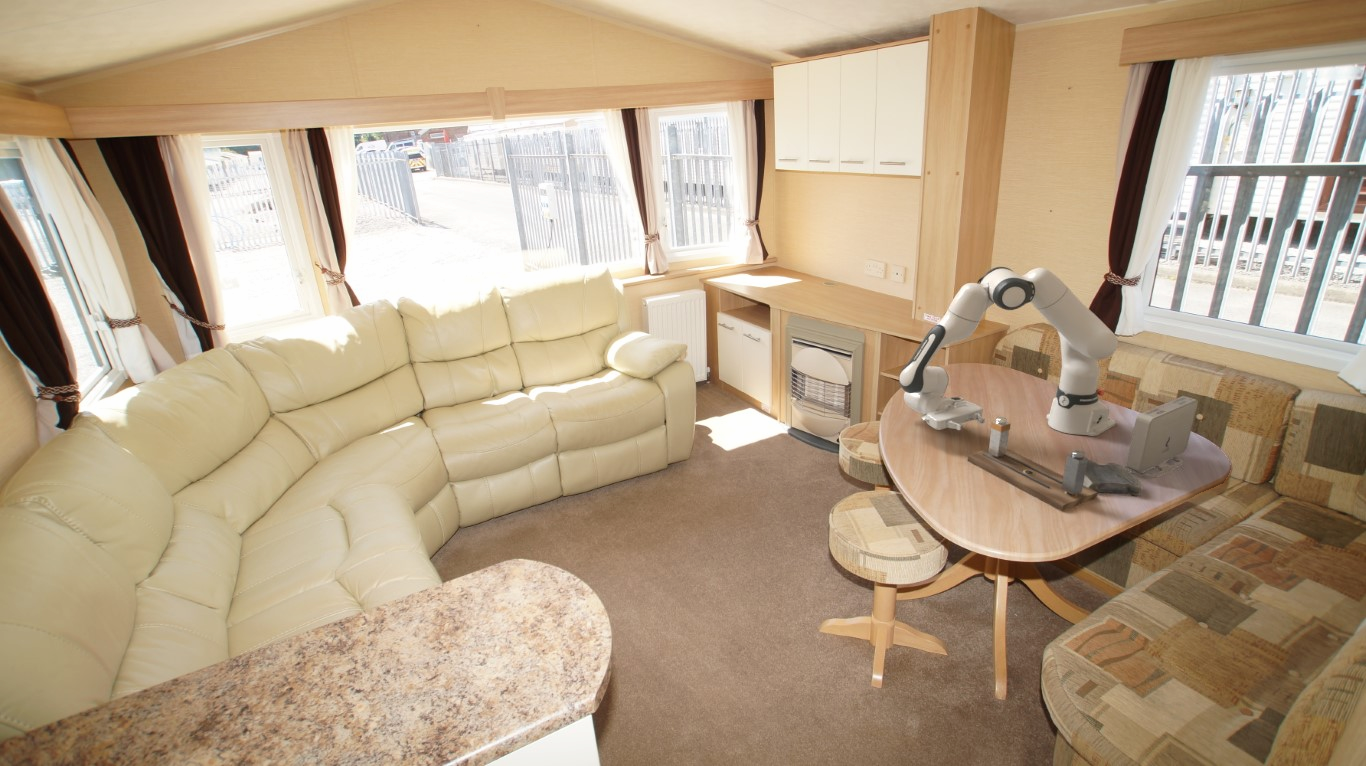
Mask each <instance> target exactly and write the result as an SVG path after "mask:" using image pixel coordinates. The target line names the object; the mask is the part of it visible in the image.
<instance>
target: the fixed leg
mask: <svg viewBox="0 0 1366 766" xmlns="http://www.w3.org/2000/svg"><path fill="white" fill-rule="evenodd" d="M1065 460H1066V461H1065V464H1064V465H1065V466H1064V471H1063V476H1064V477H1063V482H1062V488H1061V489H1062V490H1064V491H1066V492H1068V493H1069V494H1072V495H1074V494H1077V493H1080V492H1082V488H1083V483H1084V477H1085V472H1086V467H1087V461H1088V460H1089V457H1088V456H1085V452H1084V451H1082V450H1077V449H1076V450H1074V449H1073V450H1072V451H1071V453H1070V454H1067V455H1066V459H1065Z"/></svg>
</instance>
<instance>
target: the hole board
mask: <svg viewBox="0 0 1366 766" xmlns="http://www.w3.org/2000/svg"><path fill="white" fill-rule="evenodd" d="M967 462H969V463H971V464H973V465H975V466H976V467H978V468H981V469H982V470H983V471H986V472H988V473H990V474H991V475H993V476H996V477H997V478H999V479H1001V480H1003V482H1004V481H1005V482H1006V483H1008V484H1010V485H1012V486H1014V487H1015V488H1017V489H1019V490H1022V491H1023V492H1025V493H1028V494H1029V495H1031V497H1032V496H1033V497H1035V498H1036V499H1038V500H1040V501H1042V502H1043V503H1046V504H1047V505H1049V506H1051V507H1053V508H1055V509H1057V510H1058V511H1060V512H1064V511H1067V510H1070V509H1072V508H1074V507H1078V506H1081V505H1083V504H1086V503H1087V502H1091V501H1093V500H1096V499H1097V498H1098V494H1099V493H1098V492H1096V491H1094V490H1092V489H1090V488H1088V487H1086V486H1084V485H1083V488H1082V492H1080V493H1077V494H1074V495H1072V494H1069V493H1068V492H1066V491H1064V490H1062V489H1061V488H1062V482H1063V477H1064V474H1061V473H1058V472H1056V471H1055V470H1053V469H1050V468H1048V467H1046V466H1044V465H1041V464H1040V463H1038V462H1036V461H1033V460H1031V459H1029V458H1027V457H1025V456H1023V455H1021V454H1019V453H1017V452H1015V451H1013V450H1010V449H1009V448H1007V450H1006V454H1005V455H1002V456H999V457H997V456H995V455H993V454H991V453H989V448H988V449H984V450H980V451H978V452H975V453H971V454H968V455H967Z"/></svg>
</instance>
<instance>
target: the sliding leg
mask: <svg viewBox="0 0 1366 766" xmlns="http://www.w3.org/2000/svg"><path fill="white" fill-rule="evenodd" d="M990 425H991V426H990V428H991V430H990V436H989V437H990V438H989V446H988V449H989V453H991V454H993V455H995V456H997V457H999V456H1002V455H1005V454H1006V450H1007V449H1008V441H1009V435H1010V434H1009V432H1010V429H1011V423H1010V422H1008V419H1007V417H1003V416H997V417H996V419H995V420H993V421H992V420H991V424H990Z"/></svg>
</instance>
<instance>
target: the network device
mask: <svg viewBox="0 0 1366 766" xmlns="http://www.w3.org/2000/svg"><path fill="white" fill-rule="evenodd" d="M1198 404H1199V400H1198V399H1195V398H1191V397H1188V396H1184V395H1182V396H1179V397H1177V398H1175V399H1173V400H1170V401H1168V402H1165V403H1163V404H1160V405H1158V406H1156V407H1153V408H1151V409H1149V410H1146V411H1143V412H1141V413H1139V414H1138V415H1137V416H1136V419H1135V422H1134V427H1133V430H1132V431H1133V432H1132V437H1131V441H1130V445H1129V450H1128V455H1127V459H1126V464H1125V467H1126V468H1125V469H1127V470H1129V471H1128V472H1130V471H1131V472H1130V473H1132V474H1136V475H1138V476H1140V475H1141V476H1140V477H1144V478H1147V477H1148V479H1156V478H1159V477H1161V476H1162V474H1163V475H1165V474H1166V472H1167V473H1169V472H1171V471H1173V470H1174V469H1173V468H1175V467H1177V466H1179V467H1180V465H1181V464H1182V465H1183V464H1184V461H1183V460H1184V459H1183V460H1182V459H1181V458H1179V457H1177V456H1180V455H1181V454H1183V453H1185V452H1186V450H1187V447H1188V444H1189V440H1190V436H1191V432H1192V429H1193V424H1194V421H1195V416H1196V412H1197V407H1198ZM1173 459H1175V460H1174V461H1176V460H1177V461H1176V463H1174V464H1172V465H1166V464H1165V462H1167V461H1169V460H1173ZM1178 461H1179V462H1178ZM1182 465H1181V466H1182ZM1154 467H1155V468H1154ZM1153 468H1154V469H1157V470H1159V469H1160V471H1157V472H1156V473H1153V474H1148V473H1145V472H1146V471H1149V470H1151V469H1153ZM1177 468H1178V467H1177ZM1172 469H1173V470H1172ZM1175 469H1176V468H1175ZM1170 470H1171V471H1170ZM1168 471H1169V472H1168ZM1164 473H1165V474H1164ZM1160 475H1161V476H1160ZM1158 476H1159V477H1158Z"/></svg>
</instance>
